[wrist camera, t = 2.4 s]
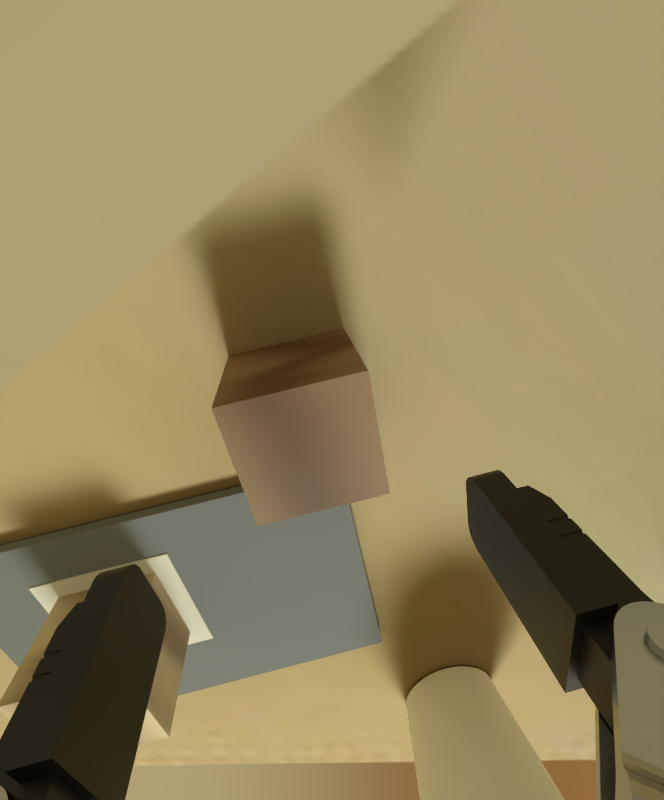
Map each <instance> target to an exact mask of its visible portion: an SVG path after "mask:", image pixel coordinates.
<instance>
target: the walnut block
mask: <svg viewBox="0 0 664 800" xmlns="http://www.w3.org/2000/svg"><path fill="white" fill-rule="evenodd" d="M212 411H213V413H214V416H215V418H216V421H217V423H218V426H219V429H220V431H221V434H222V436H223V439H224V441H225V444H226V447H227V449H228V452H229V454H230V457H231V460H232V462H233V465H234V467H235V470H236V472H237V475H238V478H239V480H240V483H241V485H242V488H243V491H244V493H245V496H246V498H247V501H248V503H249V506H250V509H251V511H252V514H253V516H254V519H255V521H256V524H257V526H261V525H265V524H269V523H273V522H277V521H281V520H285V519H289V518H293V517H297V516H301V515H305V514H309V513H313V512H317V511H321V510H325V509H329V508H333V507H337V506H341V505H345V504H349V503H353V502H357V501H361V500H365V499H369V498H373V497H377V496H381V495H385V494H389V493H390V492H389V487H388V481H387V475H386V470H385V464H384V458H383V452H382V447H381V441H380V435H379V430H378V424H377V418H376V413H375V407H374V401H373V395H372V390H371V384H370V378H369V373H368V369H367V368H366V366H365V364H364V363H363V361H362V359H361V357H360V356H359V354H358V352H357V351H356V349H355V347H354V346H353V344H352V342H351V340H350V339H349V337H348V335H347V334H346V332H345V330H344V329H342V330H338V331H334V332H329V333H325V334H321V335H317V336H313V337H308V338H304V339H300V340H296V341H292V342H287V343H283V344H279V345H275V346H271V347H266V348H262V349H258V350H254V351H250V352H245V353H241V354H237V355H233V356H229V357H228V360H227V363H226V366H225V369H224V372H223V375H222V378H221V381H220V384H219V387H218V390H217V393H216V396H215V399H214V402H213V405H212Z"/></svg>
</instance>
